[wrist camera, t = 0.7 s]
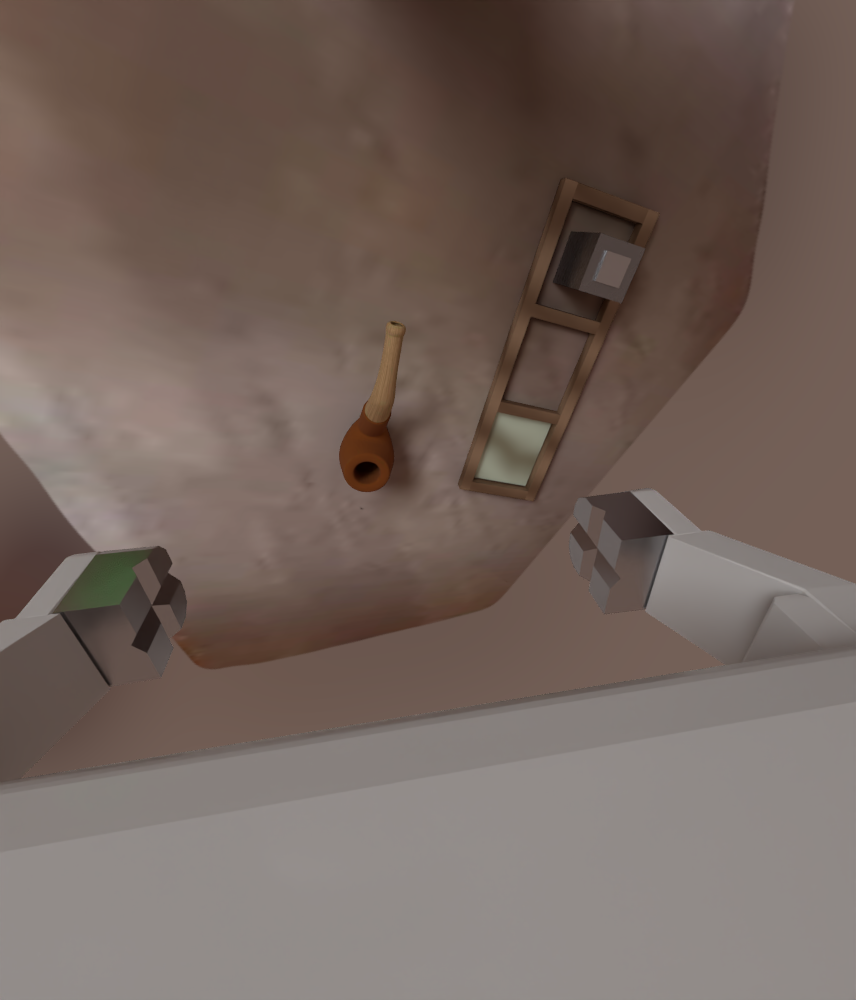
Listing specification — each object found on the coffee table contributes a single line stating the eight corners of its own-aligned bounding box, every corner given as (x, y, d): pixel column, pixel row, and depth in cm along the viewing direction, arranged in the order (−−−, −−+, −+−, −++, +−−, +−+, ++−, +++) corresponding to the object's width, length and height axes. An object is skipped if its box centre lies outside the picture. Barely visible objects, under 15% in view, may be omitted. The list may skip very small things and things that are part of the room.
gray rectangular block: (571, 231, 43) (602, 233, 38) (611, 245, 44) (647, 248, 39) (552, 282, 45) (579, 290, 40) (591, 294, 46) (623, 303, 41)
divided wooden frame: (560, 179, 41) (566, 178, 40) (652, 213, 43) (659, 213, 42) (457, 484, 56) (459, 489, 55) (530, 496, 58) (533, 501, 57)
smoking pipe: (392, 453, 53) (341, 451, 52) (404, 295, 39) (336, 289, 39) (393, 498, 48) (337, 497, 47) (407, 336, 35) (329, 331, 34)
